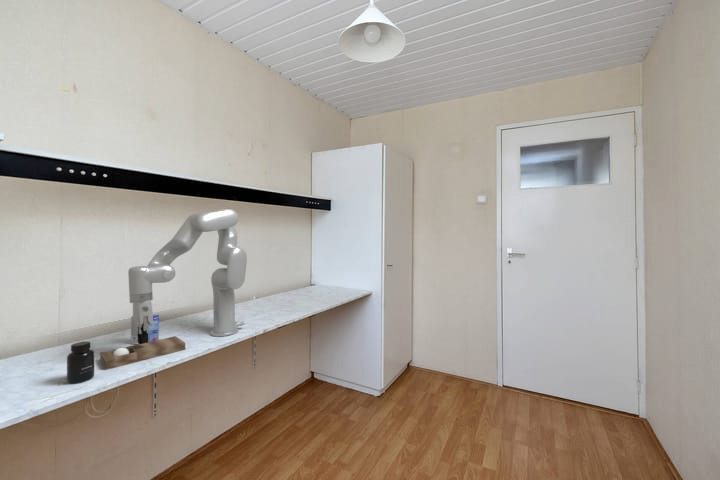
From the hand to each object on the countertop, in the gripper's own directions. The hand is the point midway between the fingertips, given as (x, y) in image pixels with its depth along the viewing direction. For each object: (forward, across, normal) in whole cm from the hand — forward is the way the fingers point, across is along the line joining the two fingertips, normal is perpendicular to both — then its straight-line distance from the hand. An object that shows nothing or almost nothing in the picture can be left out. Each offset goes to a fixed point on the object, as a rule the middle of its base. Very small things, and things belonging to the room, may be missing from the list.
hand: (143, 342), depth 125 cm
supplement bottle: (+5, -9, +20) cm, 22 cm away
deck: (+5, 0, 0) cm, 5 cm away
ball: (+2, 0, +7) cm, 8 cm away
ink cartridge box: (+5, +16, -4) cm, 17 cm away
